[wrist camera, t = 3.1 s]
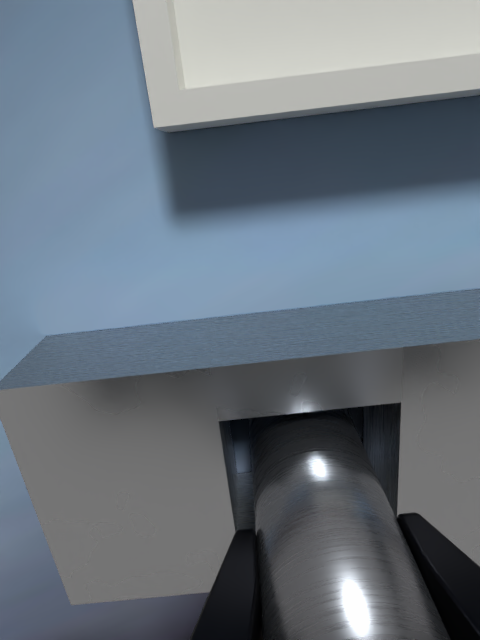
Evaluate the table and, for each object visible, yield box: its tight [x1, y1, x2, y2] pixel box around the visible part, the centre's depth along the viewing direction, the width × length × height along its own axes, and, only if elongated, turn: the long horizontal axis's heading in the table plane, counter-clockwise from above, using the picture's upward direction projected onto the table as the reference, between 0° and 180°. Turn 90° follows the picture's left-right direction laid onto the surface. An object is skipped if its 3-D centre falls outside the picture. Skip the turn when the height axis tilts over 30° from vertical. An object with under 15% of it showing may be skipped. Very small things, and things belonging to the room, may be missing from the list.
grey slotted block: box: [0, 289, 480, 605], centre depth 12 cm, size 17×7×3 cm, turn 96°
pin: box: [249, 408, 451, 640], centre depth 9 cm, size 3×3×9 cm
